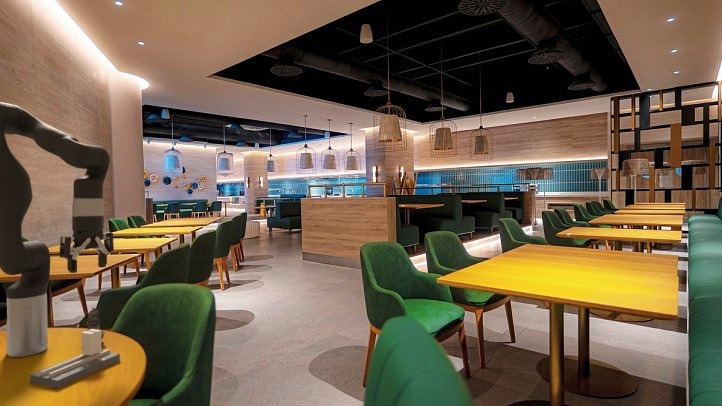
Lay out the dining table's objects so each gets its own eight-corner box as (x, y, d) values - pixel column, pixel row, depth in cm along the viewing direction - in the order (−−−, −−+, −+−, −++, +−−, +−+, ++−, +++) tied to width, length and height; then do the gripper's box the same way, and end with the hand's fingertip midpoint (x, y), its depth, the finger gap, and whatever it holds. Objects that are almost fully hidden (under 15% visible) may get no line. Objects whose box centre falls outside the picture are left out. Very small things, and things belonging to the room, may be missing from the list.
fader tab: (81, 357, 110) (81, 332, 109) (92, 353, 112) (91, 328, 112) (91, 359, 108) (90, 333, 108) (101, 355, 111) (101, 330, 111)
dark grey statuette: (93, 349, 121) (93, 310, 121) (77, 348, 122) (77, 309, 122) (109, 342, 127) (109, 305, 127) (94, 341, 128) (93, 304, 128)
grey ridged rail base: (29, 382, 100) (29, 370, 100) (94, 356, 116) (94, 345, 116) (57, 388, 97) (57, 376, 97) (119, 360, 113) (119, 350, 113)
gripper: (102, 212, 122) (101, 264, 123) (53, 214, 109) (52, 273, 109) (120, 213, 120) (119, 266, 120) (72, 215, 106) (71, 275, 107)
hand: (87, 269), depth 115 cm, fingers open, 8 cm apart
